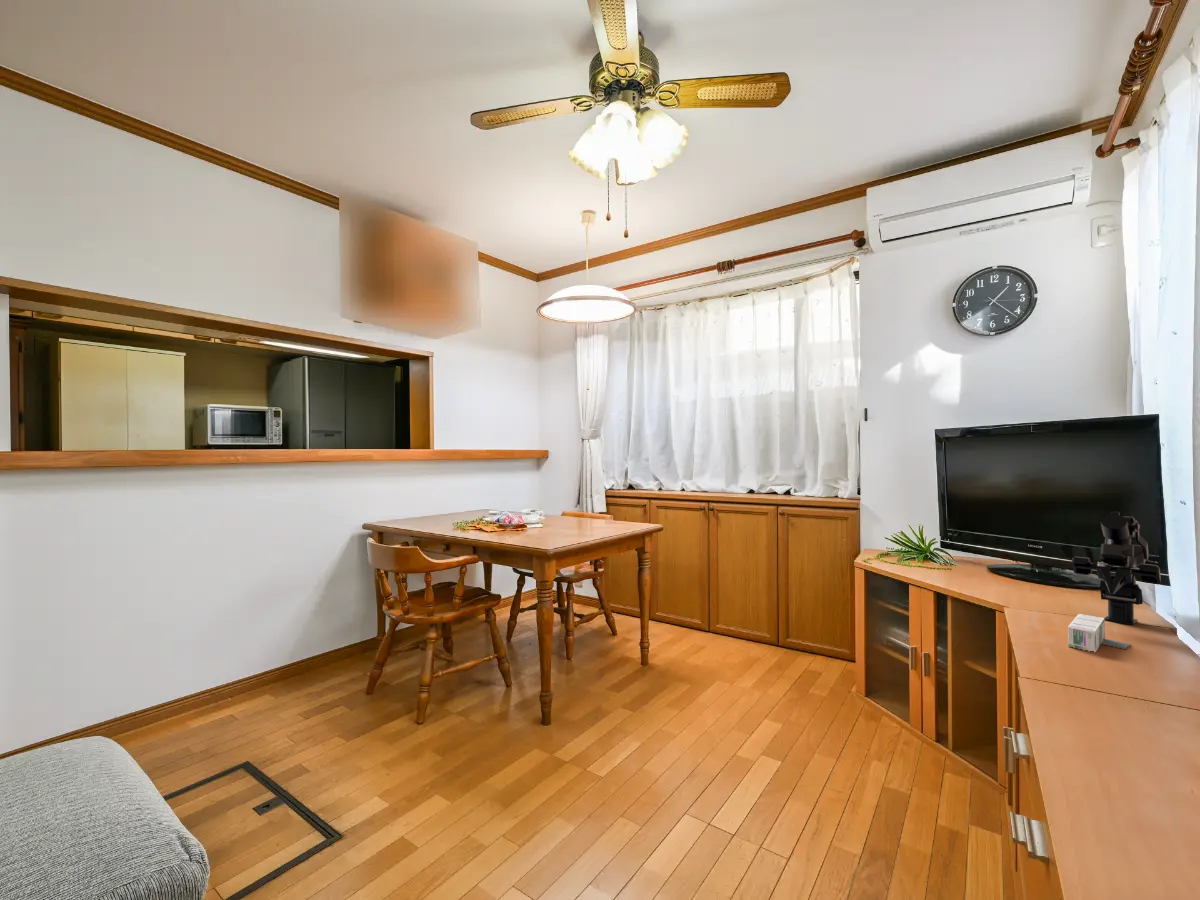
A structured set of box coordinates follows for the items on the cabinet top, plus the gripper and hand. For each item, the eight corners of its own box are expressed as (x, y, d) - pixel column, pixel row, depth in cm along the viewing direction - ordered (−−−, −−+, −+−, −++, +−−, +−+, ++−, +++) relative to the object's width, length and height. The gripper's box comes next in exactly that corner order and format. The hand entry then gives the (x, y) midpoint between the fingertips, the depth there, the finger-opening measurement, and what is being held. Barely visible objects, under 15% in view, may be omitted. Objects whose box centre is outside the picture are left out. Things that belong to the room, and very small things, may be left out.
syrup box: (1077, 613, 154) (1065, 626, 145) (1106, 617, 149) (1095, 631, 140) (1078, 632, 154) (1066, 647, 145) (1106, 638, 150) (1095, 653, 140)
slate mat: (1086, 636, 153) (1086, 634, 153) (1130, 645, 146) (1130, 643, 146) (1080, 640, 150) (1080, 638, 150) (1125, 649, 143) (1125, 648, 143)
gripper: (1072, 530, 167) (1065, 571, 160) (1158, 536, 152) (1155, 582, 145) (1077, 552, 172) (1070, 593, 165) (1162, 560, 157) (1158, 606, 150)
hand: (1111, 593), depth 156 cm, fingers closed
